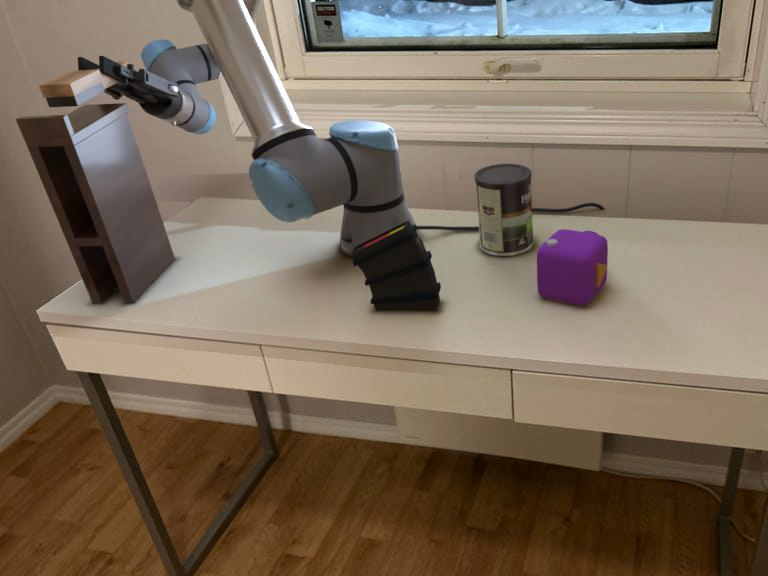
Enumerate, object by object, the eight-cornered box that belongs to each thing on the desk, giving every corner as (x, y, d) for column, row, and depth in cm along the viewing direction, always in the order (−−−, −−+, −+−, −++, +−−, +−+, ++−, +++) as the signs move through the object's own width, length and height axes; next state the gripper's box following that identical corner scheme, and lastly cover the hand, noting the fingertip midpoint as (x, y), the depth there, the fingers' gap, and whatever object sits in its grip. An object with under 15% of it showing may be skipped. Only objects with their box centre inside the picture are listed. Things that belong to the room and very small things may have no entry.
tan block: (137, 74, 137) (131, 53, 135) (78, 106, 121) (69, 83, 119) (110, 76, 138) (103, 55, 136) (47, 107, 121) (38, 85, 119)
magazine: (455, 304, 122) (406, 227, 115) (389, 332, 127) (338, 261, 120) (459, 292, 125) (411, 217, 118) (394, 321, 130) (344, 250, 123)
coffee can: (537, 233, 146) (535, 163, 138) (529, 257, 138) (526, 184, 130) (485, 232, 148) (480, 162, 140) (474, 256, 140) (468, 183, 132)
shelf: (177, 257, 148) (121, 85, 130) (134, 303, 134) (63, 117, 115) (139, 257, 149) (78, 87, 131) (92, 303, 135) (15, 119, 116)
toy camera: (614, 272, 131) (616, 218, 125) (598, 311, 120) (600, 255, 115) (554, 266, 134) (553, 214, 129) (533, 304, 124) (531, 249, 118)
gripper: (204, 118, 150) (136, 84, 127) (128, 121, 153) (48, 89, 129) (202, 79, 150) (134, 39, 127) (126, 83, 152) (45, 44, 129)
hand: (90, 64), depth 128 cm, fingers closed on tan block, 3 cm apart
